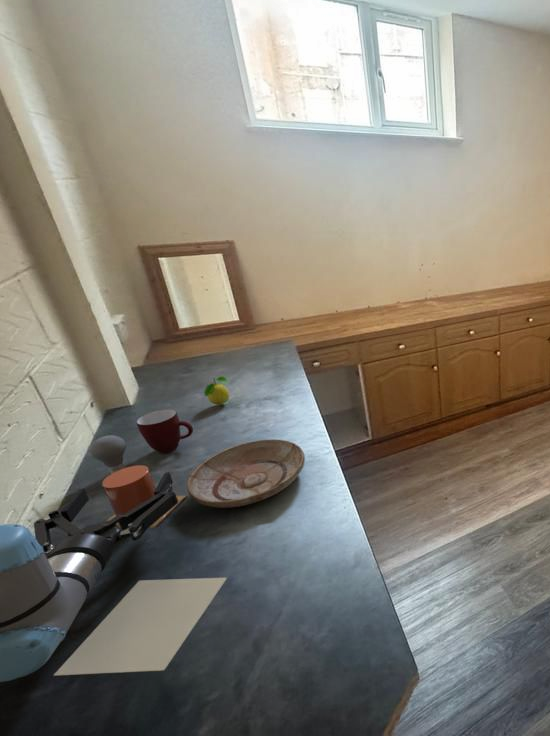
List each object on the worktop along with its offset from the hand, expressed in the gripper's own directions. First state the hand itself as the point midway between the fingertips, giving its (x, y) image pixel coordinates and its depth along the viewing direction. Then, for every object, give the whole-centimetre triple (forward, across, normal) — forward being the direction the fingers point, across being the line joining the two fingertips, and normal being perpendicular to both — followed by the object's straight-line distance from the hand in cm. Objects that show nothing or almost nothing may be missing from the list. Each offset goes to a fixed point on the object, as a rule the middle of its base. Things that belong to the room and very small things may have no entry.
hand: (128, 485), depth 82 cm
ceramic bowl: (+3, +20, -8) cm, 22 cm away
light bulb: (+20, -11, -8) cm, 24 cm away
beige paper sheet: (-29, +10, -8) cm, 32 cm away
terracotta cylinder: (0, 0, -8) cm, 8 cm away
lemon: (+51, +5, -8) cm, 52 cm away
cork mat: (0, 0, -8) cm, 8 cm away
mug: (+28, -2, -8) cm, 29 cm away
